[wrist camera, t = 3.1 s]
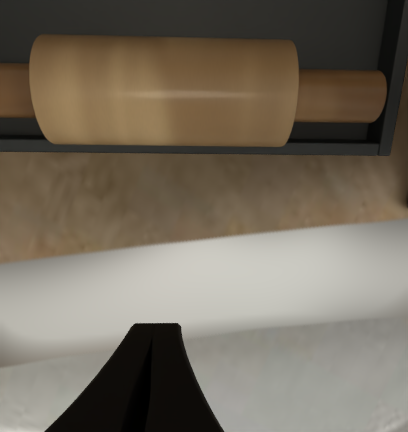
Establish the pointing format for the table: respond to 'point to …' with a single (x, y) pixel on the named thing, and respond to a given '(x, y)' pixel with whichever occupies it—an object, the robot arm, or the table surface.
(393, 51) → the pastry tray
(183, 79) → the rolling pin
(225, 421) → the table surface
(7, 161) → the table surface
